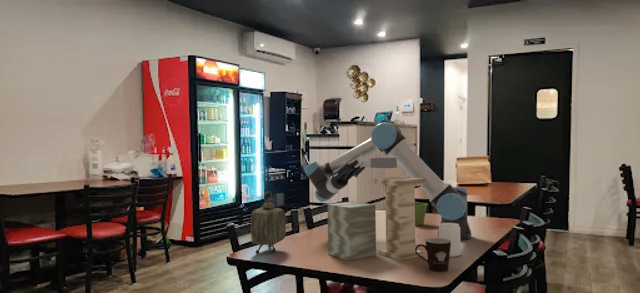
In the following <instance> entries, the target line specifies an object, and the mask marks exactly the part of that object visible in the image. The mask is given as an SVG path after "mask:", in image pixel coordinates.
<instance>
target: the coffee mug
mask: <svg viewBox="0 0 640 293" xmlns="http://www.w3.org/2000/svg"><path fill="white" fill-rule="evenodd" d="M420 247H423V248H424V249H425V251H426V255H427V259H426V258H425V257H423V256H420V255H419V254H418V253H417V250H418V248H420ZM450 247H451V240H448V239H443V238H439V237H433V238H432V237H430V238H426V239H425V245H424V244H422V243H421V244H418V245H415V252H416V254H417V255H418V256H419V258H421V259H422V260H424V261H425V262H427V265H428V269H429V271H431V272H435V273H446V272H448V271H449V266H450V257H449V256H450Z"/></svg>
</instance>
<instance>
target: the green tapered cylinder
mask: <svg viewBox="0 0 640 293" xmlns="http://www.w3.org/2000/svg"><path fill="white" fill-rule="evenodd" d="M428 205H429V204H428V203H426V202H415V226H423V225H425V218H426V211H427V208H428Z"/></svg>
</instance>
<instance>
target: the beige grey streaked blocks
mask: <svg viewBox="0 0 640 293" xmlns="http://www.w3.org/2000/svg"><path fill="white" fill-rule="evenodd" d="M419 184H426V179H422V178H412V177H405V176H395V177H383V178H382V177H381V178H374V185H384V186H385V188H384V190H385V196H384V197H385V244H386V245H385V249H381V250H380V249H379V250H378V255H380V256H383V257H387V258H392V259H395V260H398V261H405V260H409V259H413V258H414V259H415V258H418V257H419V256H418V255H417V254H416V252H415V248H416V225H415V203H416V198H415V197H416V196H415V195H416V194H415V191H416V190H415V189H416V187H415V186H417V185H418V186H420V185H419ZM376 213H377V212H376V204H372V203H367V202H365V203H364V202H360V201H359V202H358V201H354V200H353V201H344V202H334V203H327V247H328V248H327V250H328V252H327V254H328V255H330V256H333V257H337V258H340V259H342V260H347V261H349V262H352V261H357V260H362V259H367V258H373V257H377V234H376V233H377V229H376V225H377V224H376V223H377V222H376ZM417 253H418V254H419V255H420V256H422V257H423V256H424V252H423V251H421V250H418V249H417ZM419 258H420V257H419Z"/></svg>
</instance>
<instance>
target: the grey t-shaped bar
mask: <svg viewBox="0 0 640 293" xmlns="http://www.w3.org/2000/svg"><path fill="white" fill-rule="evenodd" d="M351 163H353V162H351ZM358 167H365V168H372V169H395V168H396V169H397V167H398V162H397V158H393V157H370V161H369V162H362V163H361V164H360V165H359V166H358Z"/></svg>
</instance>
